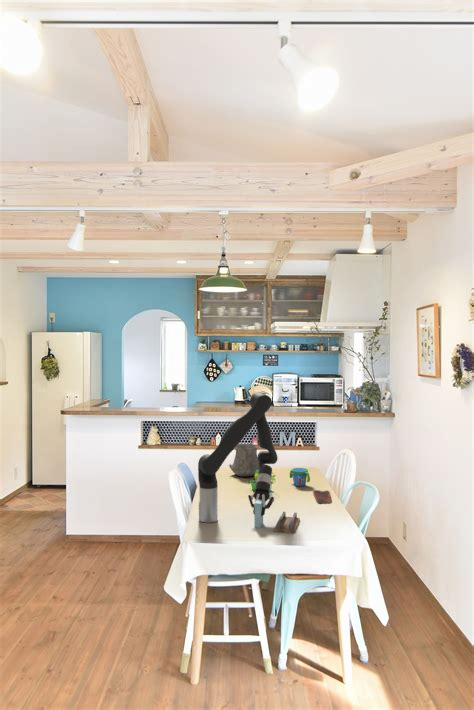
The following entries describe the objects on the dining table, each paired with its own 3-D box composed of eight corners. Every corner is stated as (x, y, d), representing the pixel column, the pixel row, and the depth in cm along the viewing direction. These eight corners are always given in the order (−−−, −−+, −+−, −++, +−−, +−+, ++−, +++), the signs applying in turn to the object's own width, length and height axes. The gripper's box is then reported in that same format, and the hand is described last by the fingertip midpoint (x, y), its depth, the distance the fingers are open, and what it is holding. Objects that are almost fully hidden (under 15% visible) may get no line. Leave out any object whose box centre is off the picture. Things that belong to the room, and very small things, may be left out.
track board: (273, 531, 260) (273, 523, 260) (280, 518, 280) (280, 511, 280) (294, 533, 258) (294, 525, 258) (299, 519, 277) (299, 512, 277)
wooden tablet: (333, 502, 304) (315, 500, 305) (332, 506, 304) (315, 504, 305) (329, 490, 331) (313, 487, 332) (328, 493, 331) (312, 491, 332)
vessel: (231, 470, 383) (231, 442, 383) (262, 471, 380) (262, 443, 380) (226, 478, 362) (226, 448, 361) (259, 479, 359) (259, 449, 358)
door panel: (254, 527, 266) (254, 503, 266) (257, 522, 273) (257, 499, 273) (260, 527, 266) (260, 503, 265) (263, 523, 272) (263, 499, 272)
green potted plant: (254, 492, 329) (254, 473, 329) (248, 488, 337) (248, 470, 337) (271, 490, 333) (271, 471, 333) (265, 486, 342) (265, 468, 341)
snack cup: (285, 483, 348) (285, 468, 348) (297, 481, 354) (297, 466, 354) (301, 489, 335) (301, 473, 335) (314, 486, 341) (314, 470, 341)
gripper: (248, 479, 279) (243, 510, 267) (275, 481, 275) (271, 512, 264) (251, 487, 284) (245, 517, 272) (277, 489, 281) (273, 519, 269)
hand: (258, 514), depth 268 cm, fingers closed on door panel, 3 cm apart
